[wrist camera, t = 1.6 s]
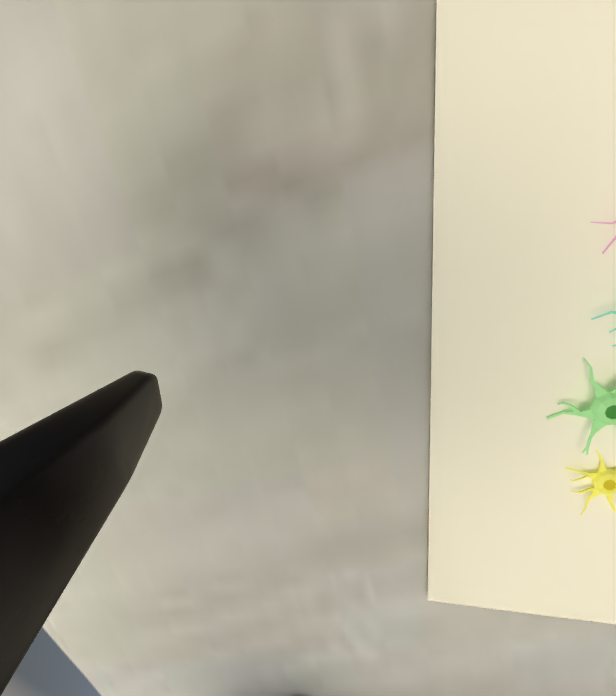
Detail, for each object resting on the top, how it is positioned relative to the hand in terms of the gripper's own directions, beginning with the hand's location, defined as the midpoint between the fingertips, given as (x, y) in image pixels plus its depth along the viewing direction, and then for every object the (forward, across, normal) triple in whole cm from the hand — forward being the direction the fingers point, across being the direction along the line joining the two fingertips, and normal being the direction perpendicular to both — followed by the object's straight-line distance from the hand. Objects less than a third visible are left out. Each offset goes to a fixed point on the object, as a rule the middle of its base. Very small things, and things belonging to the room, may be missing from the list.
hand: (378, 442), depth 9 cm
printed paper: (+15, -16, +5) cm, 23 cm away
